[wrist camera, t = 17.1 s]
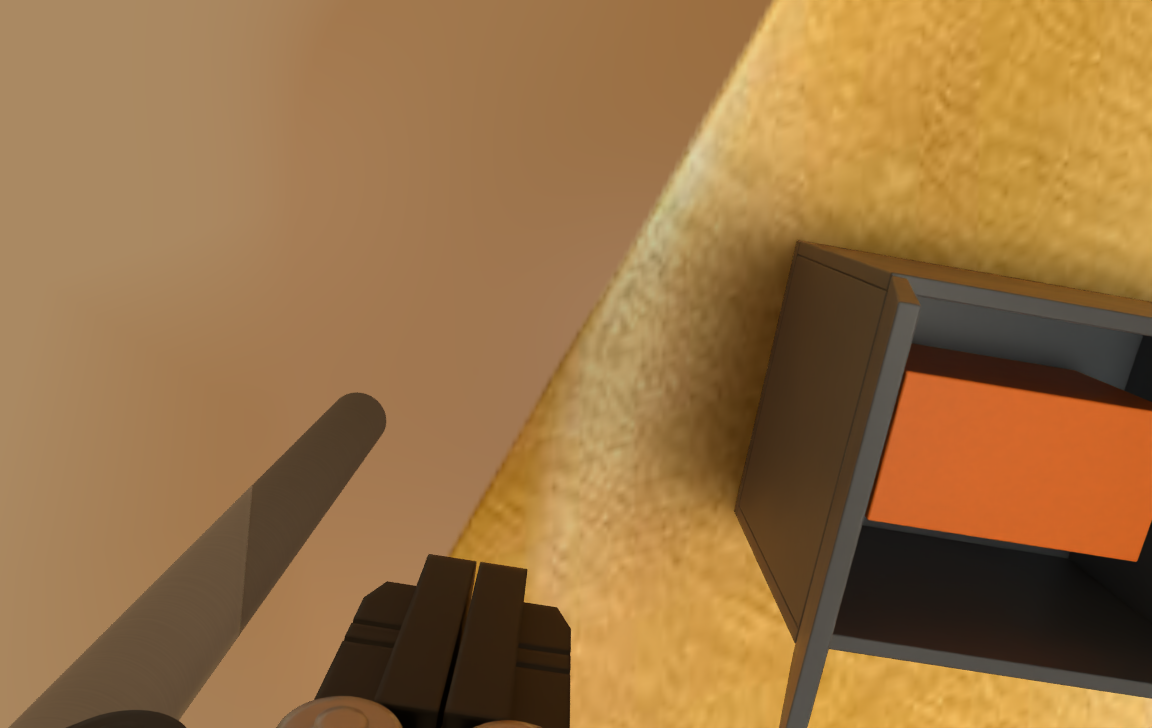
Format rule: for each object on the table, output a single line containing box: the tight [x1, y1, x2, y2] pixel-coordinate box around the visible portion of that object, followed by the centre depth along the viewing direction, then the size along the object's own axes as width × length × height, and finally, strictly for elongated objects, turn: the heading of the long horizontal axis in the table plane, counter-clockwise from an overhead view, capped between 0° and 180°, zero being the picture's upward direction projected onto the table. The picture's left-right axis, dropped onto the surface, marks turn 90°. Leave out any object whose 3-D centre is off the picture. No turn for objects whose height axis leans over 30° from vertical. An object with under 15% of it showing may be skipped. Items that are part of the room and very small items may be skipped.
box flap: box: [779, 276, 921, 728], centre depth 19 cm, size 7×11×1 cm
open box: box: [734, 240, 1152, 699], centre depth 28 cm, size 14×11×10 cm
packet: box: [865, 344, 1152, 562], centre depth 29 cm, size 9×5×6 cm, turn 80°
